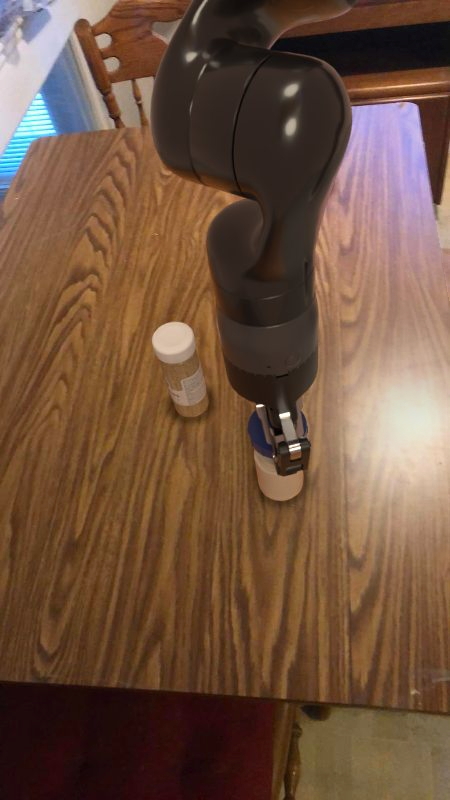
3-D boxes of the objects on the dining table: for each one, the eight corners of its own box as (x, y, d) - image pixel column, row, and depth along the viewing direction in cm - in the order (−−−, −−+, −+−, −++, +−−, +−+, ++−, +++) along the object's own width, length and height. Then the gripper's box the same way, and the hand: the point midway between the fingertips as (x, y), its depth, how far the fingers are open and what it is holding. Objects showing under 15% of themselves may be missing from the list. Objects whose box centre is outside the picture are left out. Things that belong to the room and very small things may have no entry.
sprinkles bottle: (168, 404, 71) (143, 333, 60) (199, 385, 72) (179, 313, 61) (187, 428, 69) (164, 359, 58) (218, 409, 70) (201, 338, 59)
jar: (294, 457, 65) (292, 418, 58) (310, 495, 62) (310, 459, 55) (252, 471, 64) (246, 433, 58) (267, 509, 62) (261, 474, 55)
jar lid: (257, 465, 54) (255, 457, 52) (243, 417, 57) (241, 409, 56) (314, 450, 54) (314, 442, 52) (297, 403, 57) (297, 394, 56)
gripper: (203, 281, 47) (227, 397, 61) (242, 421, 39) (260, 518, 53) (290, 260, 47) (295, 380, 61) (347, 394, 39) (338, 498, 53)
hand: (279, 443), depth 57 cm, fingers closed on jar lid, 5 cm apart
